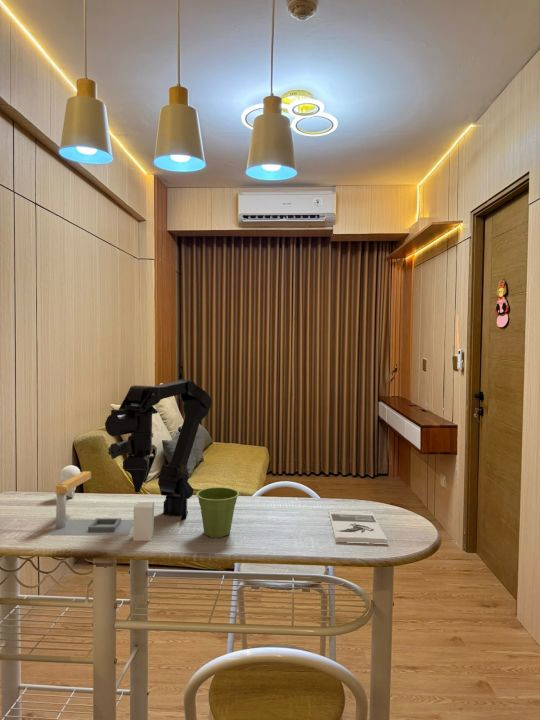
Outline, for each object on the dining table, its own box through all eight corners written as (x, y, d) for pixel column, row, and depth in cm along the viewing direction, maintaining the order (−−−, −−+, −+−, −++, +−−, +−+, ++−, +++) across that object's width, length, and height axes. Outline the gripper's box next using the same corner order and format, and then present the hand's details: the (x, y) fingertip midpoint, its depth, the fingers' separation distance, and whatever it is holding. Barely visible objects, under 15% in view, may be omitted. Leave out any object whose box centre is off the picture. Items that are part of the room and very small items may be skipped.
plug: (153, 535, 126) (154, 502, 126) (150, 542, 122) (151, 507, 122) (136, 535, 126) (137, 502, 126) (133, 542, 121) (133, 507, 121)
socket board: (137, 523, 137) (137, 487, 137) (127, 538, 125) (128, 500, 125) (63, 522, 135) (63, 487, 135) (46, 538, 123) (47, 499, 123)
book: (328, 516, 149) (328, 510, 149) (372, 518, 148) (372, 511, 148) (335, 544, 126) (335, 537, 126) (387, 547, 125) (387, 539, 125)
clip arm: (64, 494, 128) (64, 486, 128) (53, 493, 128) (53, 486, 128) (91, 478, 145) (92, 471, 145) (82, 477, 146) (82, 471, 146)
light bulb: (75, 501, 156) (76, 468, 156) (55, 500, 156) (56, 467, 156) (83, 495, 162) (84, 463, 162) (64, 494, 162) (65, 463, 162)
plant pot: (191, 528, 134) (192, 488, 134) (231, 524, 138) (232, 485, 138) (200, 544, 123) (201, 501, 123) (243, 538, 127) (244, 497, 127)
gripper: (118, 425, 138) (118, 478, 139) (102, 437, 120) (101, 498, 120) (157, 425, 139) (156, 478, 140) (147, 437, 121) (146, 497, 121)
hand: (140, 487), depth 130 cm, fingers open, 9 cm apart
